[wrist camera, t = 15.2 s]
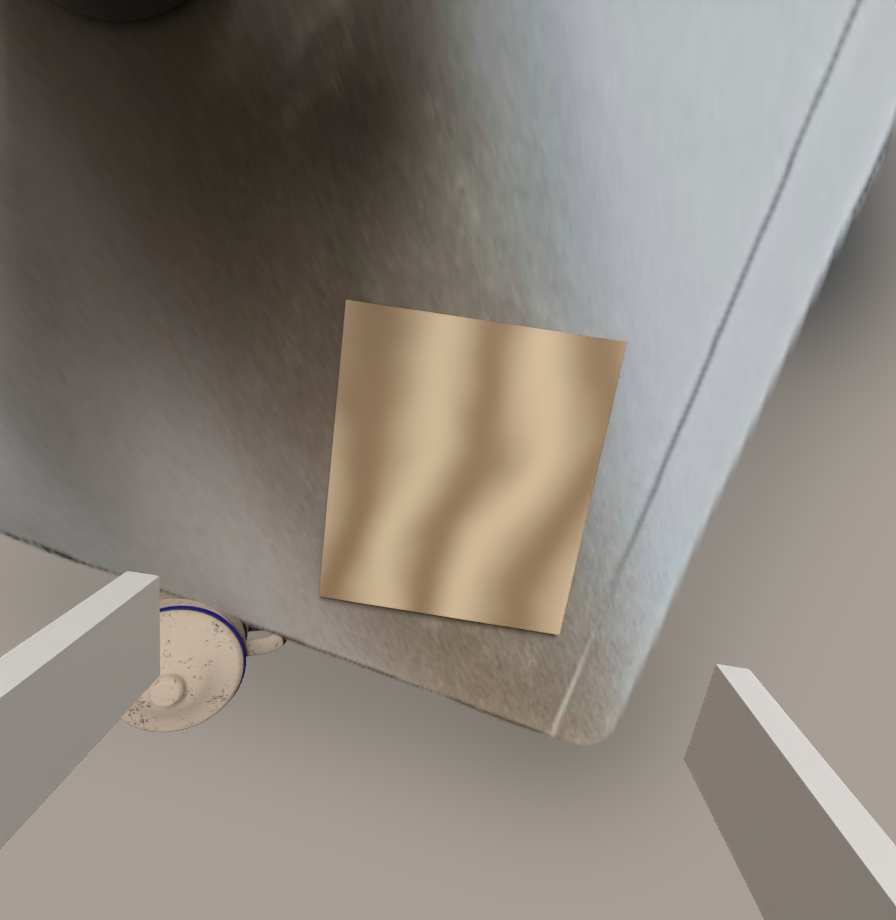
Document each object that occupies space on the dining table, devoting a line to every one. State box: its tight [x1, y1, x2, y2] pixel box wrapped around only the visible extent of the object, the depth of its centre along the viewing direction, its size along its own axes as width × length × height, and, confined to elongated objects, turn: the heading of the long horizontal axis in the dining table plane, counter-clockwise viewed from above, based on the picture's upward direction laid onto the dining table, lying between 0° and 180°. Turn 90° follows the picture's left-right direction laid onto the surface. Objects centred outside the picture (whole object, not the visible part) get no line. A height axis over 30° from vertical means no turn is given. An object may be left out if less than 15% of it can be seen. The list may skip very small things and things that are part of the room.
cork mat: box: [319, 300, 627, 635], centre depth 32 cm, size 17×20×1 cm
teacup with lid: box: [120, 591, 287, 732], centre depth 37 cm, size 12×9×12 cm
